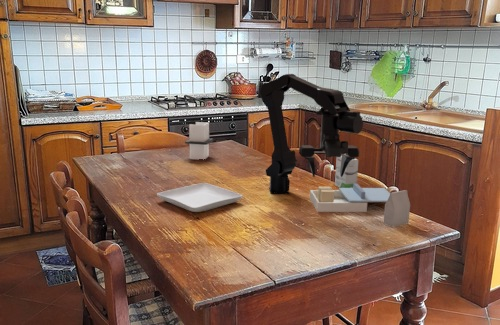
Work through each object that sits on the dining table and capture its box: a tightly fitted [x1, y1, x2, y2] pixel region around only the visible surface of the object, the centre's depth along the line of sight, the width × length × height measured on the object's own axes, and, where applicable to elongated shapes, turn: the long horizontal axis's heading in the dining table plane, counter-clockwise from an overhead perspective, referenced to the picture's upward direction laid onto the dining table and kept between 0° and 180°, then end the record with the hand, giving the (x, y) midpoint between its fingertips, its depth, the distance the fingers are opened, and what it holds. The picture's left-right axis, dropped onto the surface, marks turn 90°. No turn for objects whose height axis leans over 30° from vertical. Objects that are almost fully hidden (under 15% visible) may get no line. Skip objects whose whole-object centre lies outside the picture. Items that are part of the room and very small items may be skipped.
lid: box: [338, 183, 391, 203], centre depth 159 cm, size 16×14×3 cm
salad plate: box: [156, 182, 244, 213], centre depth 160 cm, size 21×21×3 cm
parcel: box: [317, 186, 334, 202], centre depth 159 cm, size 4×6×5 cm
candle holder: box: [184, 121, 214, 161], centre depth 221 cm, size 25×24×16 cm
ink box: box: [334, 154, 359, 189], centre depth 178 cm, size 9×5×12 cm, turn 18°
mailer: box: [309, 189, 368, 213], centre depth 160 cm, size 16×14×3 cm
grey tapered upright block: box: [382, 189, 411, 228], centre depth 143 cm, size 4×7×10 cm, turn 121°
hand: (327, 176), depth 157 cm, fingers open, 9 cm apart
